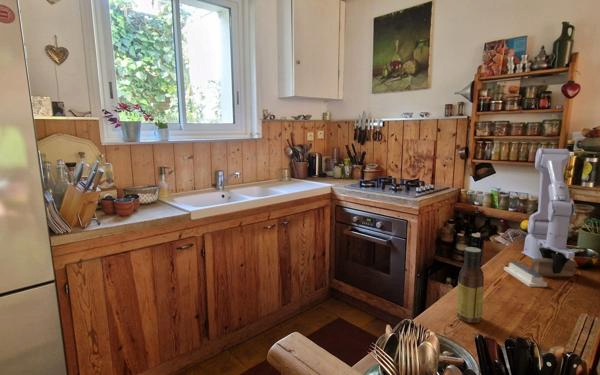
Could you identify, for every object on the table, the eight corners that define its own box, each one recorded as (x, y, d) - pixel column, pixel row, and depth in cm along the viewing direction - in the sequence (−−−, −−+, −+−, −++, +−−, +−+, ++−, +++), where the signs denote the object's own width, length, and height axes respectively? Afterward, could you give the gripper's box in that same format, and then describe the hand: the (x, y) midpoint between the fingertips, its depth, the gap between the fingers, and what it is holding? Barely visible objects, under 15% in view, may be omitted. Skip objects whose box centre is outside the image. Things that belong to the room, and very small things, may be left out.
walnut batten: (530, 272, 125) (532, 258, 124) (565, 272, 125) (567, 258, 124) (537, 276, 121) (539, 262, 120) (573, 276, 122) (575, 262, 121)
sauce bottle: (475, 312, 97) (482, 245, 93) (485, 325, 90) (493, 253, 87) (451, 311, 97) (457, 244, 94) (459, 323, 91) (466, 252, 88)
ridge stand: (503, 269, 127) (504, 260, 126) (519, 269, 127) (520, 260, 126) (529, 286, 113) (530, 276, 112) (547, 286, 113) (548, 276, 113)
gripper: (532, 228, 128) (527, 262, 130) (561, 240, 113) (556, 279, 116) (550, 228, 128) (545, 262, 130) (582, 240, 113) (576, 279, 116)
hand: (552, 270), depth 123 cm, fingers open, 4 cm apart
